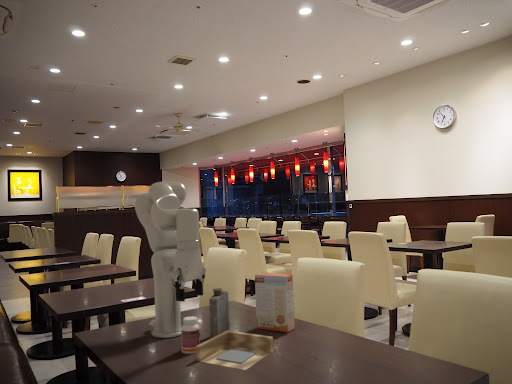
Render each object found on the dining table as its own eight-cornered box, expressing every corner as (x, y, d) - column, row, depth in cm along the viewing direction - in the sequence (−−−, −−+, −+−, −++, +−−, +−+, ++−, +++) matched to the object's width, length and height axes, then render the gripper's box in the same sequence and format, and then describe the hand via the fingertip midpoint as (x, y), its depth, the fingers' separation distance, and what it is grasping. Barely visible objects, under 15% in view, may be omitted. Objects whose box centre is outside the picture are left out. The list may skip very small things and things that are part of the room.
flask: (207, 345, 145) (205, 292, 145) (221, 332, 158) (219, 284, 159) (217, 345, 144) (215, 292, 144) (230, 333, 158) (229, 284, 158)
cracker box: (295, 329, 160) (293, 273, 161) (288, 333, 155) (286, 276, 156) (264, 324, 168) (262, 271, 168) (256, 328, 162) (254, 274, 163)
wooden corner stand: (196, 362, 129) (195, 346, 129) (227, 345, 144) (227, 330, 144) (245, 372, 120) (245, 354, 120) (273, 352, 135) (272, 336, 136)
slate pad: (216, 359, 129) (216, 358, 129) (232, 350, 137) (232, 348, 137) (241, 363, 125) (241, 362, 125) (256, 354, 133) (256, 352, 133)
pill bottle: (203, 352, 138) (202, 318, 138) (186, 356, 134) (185, 321, 135) (195, 347, 143) (194, 314, 143) (178, 351, 139) (177, 317, 140)
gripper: (195, 243, 149) (196, 292, 148) (161, 248, 134) (163, 302, 133) (212, 243, 145) (214, 293, 145) (180, 248, 130) (182, 304, 129)
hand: (189, 297), depth 139 cm, fingers open, 9 cm apart
